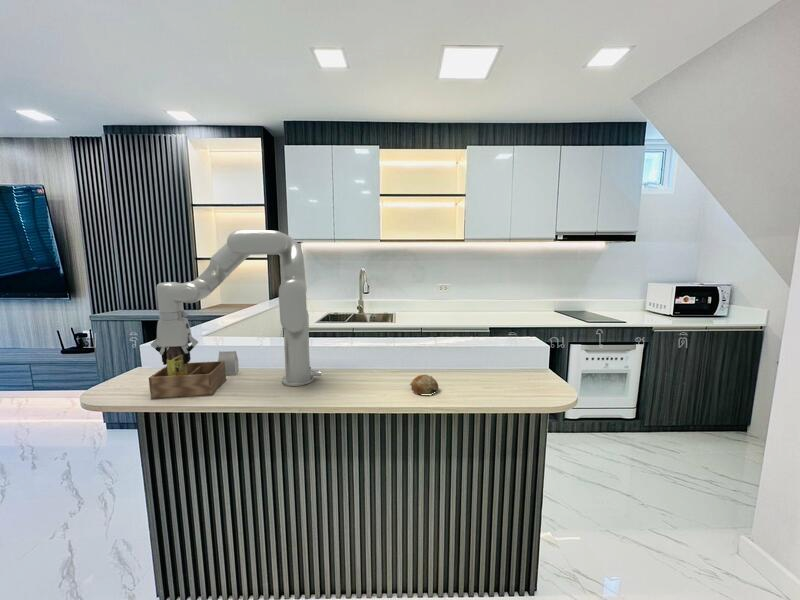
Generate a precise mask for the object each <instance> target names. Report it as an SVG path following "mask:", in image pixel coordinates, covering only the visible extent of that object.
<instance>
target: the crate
mask: <svg viewBox="0 0 800 600" xmlns="http://www.w3.org/2000/svg"><path fill="white" fill-rule="evenodd" d="M187 371H188V375H179V376H168V372H167V365H165V366H164V367H162V368H161V369H160V370H158V371H156V373H154V374H152V375H151V376H149V377H148V384H149V393H150V394H149V395H150V400H161V399H163V400H165V399H178V398H180V399H181V398H193V397H194V398H199V397H209V396H210V397H212V396H213V395H215V393H216V392H217V391H218V390H219V389H220V387H221V386H222V385H223V384H224V383H225V382H226V381H225V380H227V378H226V377H227V376H226V373H225V361H218V360H217V361H200V362H188V363H187ZM224 381H225V382H224ZM217 389H218V390H217Z"/></svg>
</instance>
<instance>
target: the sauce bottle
mask: <svg viewBox="0 0 800 600" xmlns="http://www.w3.org/2000/svg"><path fill="white" fill-rule="evenodd" d="M183 354H184V351H183V349H182V347H168V350H167V352H166V355H167V364H166V366H167V372H168V376H179V375H188V371H187V364H184V359H183Z"/></svg>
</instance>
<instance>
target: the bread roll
mask: <svg viewBox="0 0 800 600" xmlns="http://www.w3.org/2000/svg"><path fill="white" fill-rule="evenodd" d="M409 386H410V388H411V390H412V389H413V390H412V392H413V391H414V392H415V394H416V393H417V394H416V395H419V394H432V393H434V392H436V391H437V390H439V384H438V381H437V380H436V379H435V378H434V377H433V376H432V375H428V374H421V375H418V376H416V377H414V378H413V379H412V381H411V382H410V384H409ZM414 392H413V393H414ZM437 392H438V391H437ZM437 392H436V393H437Z"/></svg>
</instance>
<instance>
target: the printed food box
mask: <svg viewBox="0 0 800 600" xmlns="http://www.w3.org/2000/svg"><path fill="white" fill-rule="evenodd" d="M217 361H225V373H226V375H233V376H237V375H238V374H239V373H240V368H239V366H240V365H239V359H238V354H237V350H233V351H232V350H230V351H229V350H227V351H224V350H223V351H222V350H221V351H219V352H218V358H217ZM238 372H239V373H238ZM237 373H238V374H237ZM236 374H237V375H236Z"/></svg>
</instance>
